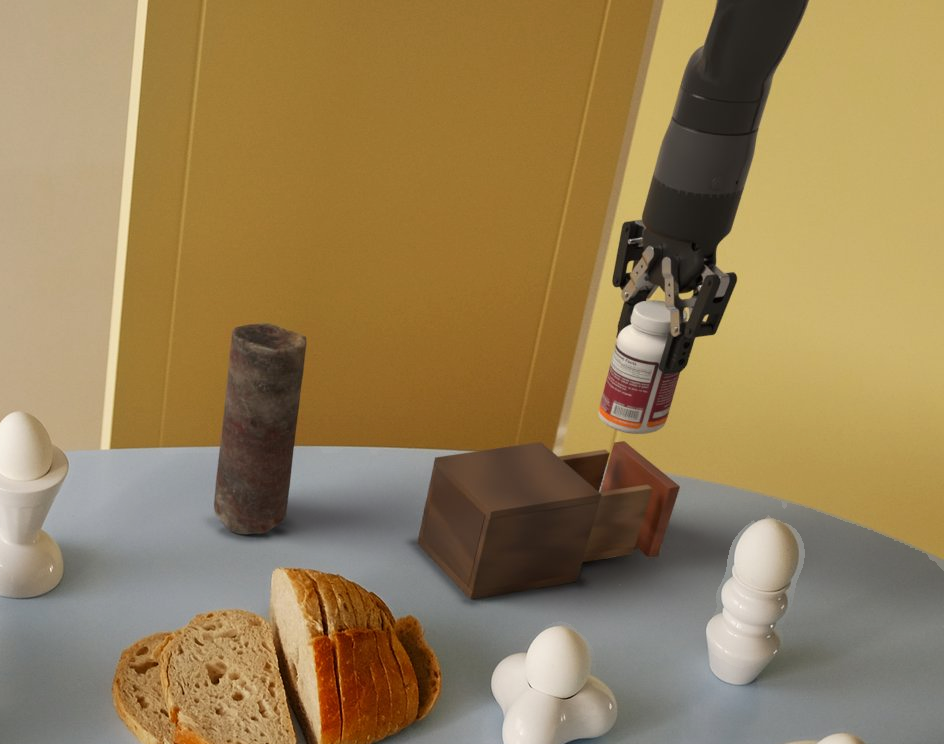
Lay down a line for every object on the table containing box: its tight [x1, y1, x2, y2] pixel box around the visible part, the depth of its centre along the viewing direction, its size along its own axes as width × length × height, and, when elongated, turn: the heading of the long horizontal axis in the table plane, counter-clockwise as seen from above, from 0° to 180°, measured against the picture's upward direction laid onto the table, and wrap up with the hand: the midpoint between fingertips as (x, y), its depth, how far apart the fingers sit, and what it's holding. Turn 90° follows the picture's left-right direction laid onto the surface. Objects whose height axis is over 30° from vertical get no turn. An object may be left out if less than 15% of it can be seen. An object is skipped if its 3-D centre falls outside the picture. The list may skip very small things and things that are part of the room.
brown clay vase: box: [213, 322, 307, 535], centre depth 172 cm, size 8×7×20 cm
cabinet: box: [416, 441, 601, 600], centre depth 169 cm, size 12×11×10 cm
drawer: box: [557, 440, 681, 563], centre depth 172 cm, size 12×9×8 cm
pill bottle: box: [598, 299, 688, 435], centre depth 163 cm, size 6×6×11 cm
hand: (648, 355), depth 162 cm, fingers closed on pill bottle, 6 cm apart
